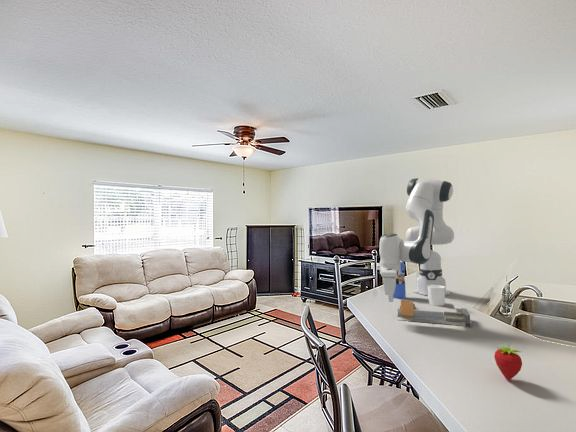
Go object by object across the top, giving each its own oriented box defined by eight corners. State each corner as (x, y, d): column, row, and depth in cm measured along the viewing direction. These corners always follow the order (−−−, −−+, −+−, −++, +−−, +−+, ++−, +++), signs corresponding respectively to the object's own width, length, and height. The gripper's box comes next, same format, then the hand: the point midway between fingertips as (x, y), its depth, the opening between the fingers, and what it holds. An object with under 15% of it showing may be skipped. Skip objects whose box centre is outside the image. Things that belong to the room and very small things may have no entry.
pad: (400, 308, 152) (400, 301, 152) (416, 309, 150) (415, 302, 150) (399, 312, 146) (399, 304, 146) (416, 313, 143) (415, 305, 143)
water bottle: (384, 298, 173) (382, 252, 173) (397, 296, 176) (395, 251, 177) (396, 301, 164) (395, 254, 165) (409, 299, 168) (408, 253, 168)
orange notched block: (401, 315, 137) (400, 302, 137) (401, 312, 141) (401, 299, 141) (413, 316, 135) (413, 303, 135) (413, 313, 139) (413, 300, 139)
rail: (398, 313, 144) (398, 303, 144) (468, 319, 133) (467, 308, 133) (397, 320, 134) (397, 309, 134) (472, 326, 124) (471, 315, 124)
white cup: (444, 310, 147) (443, 288, 148) (426, 307, 152) (425, 287, 152) (447, 306, 154) (446, 285, 154) (430, 303, 159) (429, 284, 159)
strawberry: (515, 374, 86) (513, 337, 86) (528, 388, 79) (526, 348, 79) (491, 372, 88) (489, 336, 88) (501, 385, 80) (499, 346, 81)
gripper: (384, 266, 151) (385, 295, 150) (380, 273, 132) (381, 306, 131) (398, 267, 149) (399, 296, 148) (396, 273, 130) (397, 307, 129)
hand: (391, 301), depth 140 cm, fingers closed
